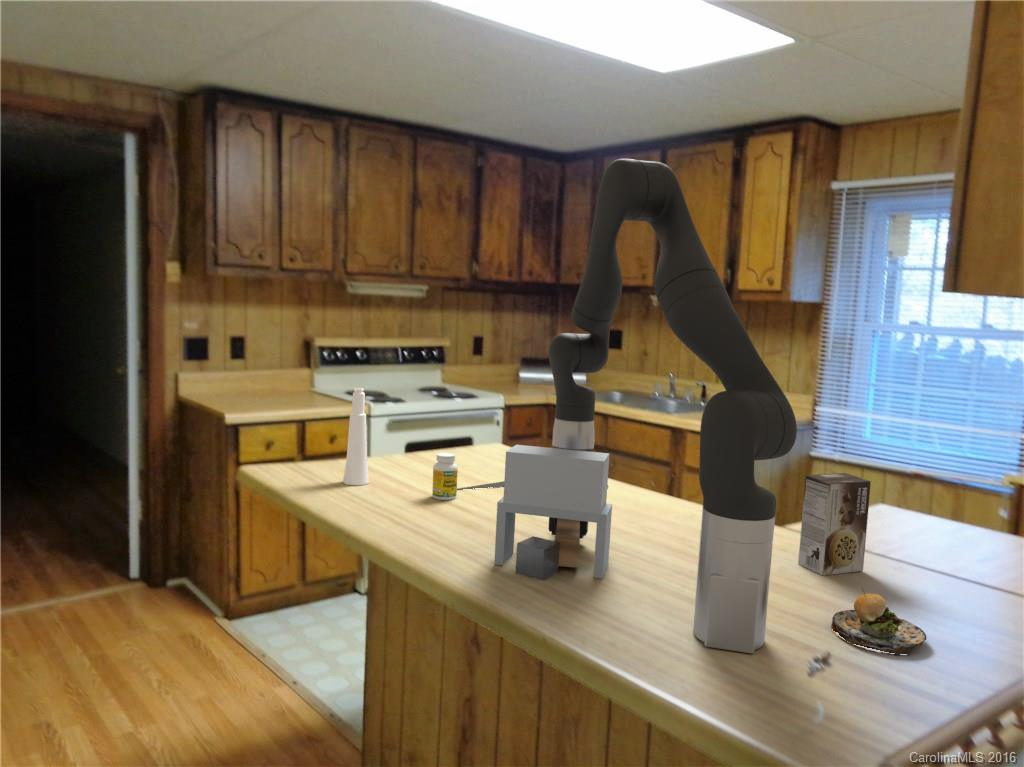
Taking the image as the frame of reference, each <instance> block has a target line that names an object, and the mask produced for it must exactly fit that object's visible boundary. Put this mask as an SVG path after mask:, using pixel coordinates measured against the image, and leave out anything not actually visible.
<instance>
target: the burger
mask: <svg viewBox="0 0 1024 767" xmlns="http://www.w3.org/2000/svg"><path fill="white" fill-rule="evenodd" d="M860 586H861V588H862V589H861V590H862V592H863V594H861V595H860V596H859V597H857V598H856V599H855V601H854V604H853V609H847V610H846V609H845V610H843V611H842V610H841V611H839V612H835V613H834V614H833V615H832V616H833V617H832V619H831V625H830V629H833V631H835V632H838V633H839V635H840V636H841V637H843V638H844V639H845V640H846V641H848V642H850V643H852V644H856V645H860V646H864V647H867V648H872V649H876V650H880V651H884V652H889V653H895V654H908V655H909V653H910V652H911V650H912V648H914V647H920V646H923V645H924V642H925V641H926V640H927V634H926V632H925V631H924V630H923V629H922V628H921V627H919V626H917V625H915V624H913V623H911V622H909V621H907V620H905V619H902V618H899V617H898V616H897V615H896V614H895V612H892V611H891V609H890V608H889V607H888V606H887V602H886V600H885V599H884V598H883V597H882V596H881V595H880V594H877V593H865V591H864V588H863V585H862V584H860Z"/></svg>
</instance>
